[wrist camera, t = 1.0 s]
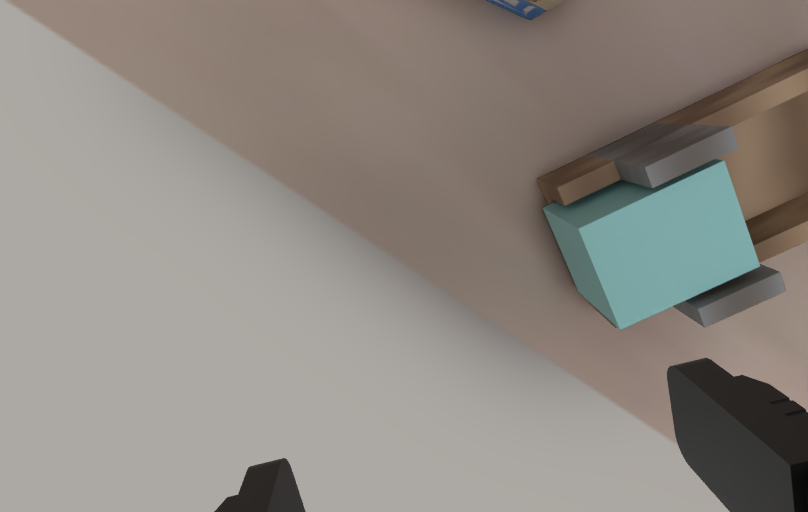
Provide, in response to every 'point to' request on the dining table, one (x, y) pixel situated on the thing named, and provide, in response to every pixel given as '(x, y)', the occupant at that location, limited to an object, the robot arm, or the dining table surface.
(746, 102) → the wooden rail tray
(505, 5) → the stack of blocks
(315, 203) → the dining table surface
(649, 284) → the block
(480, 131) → the dining table surface
